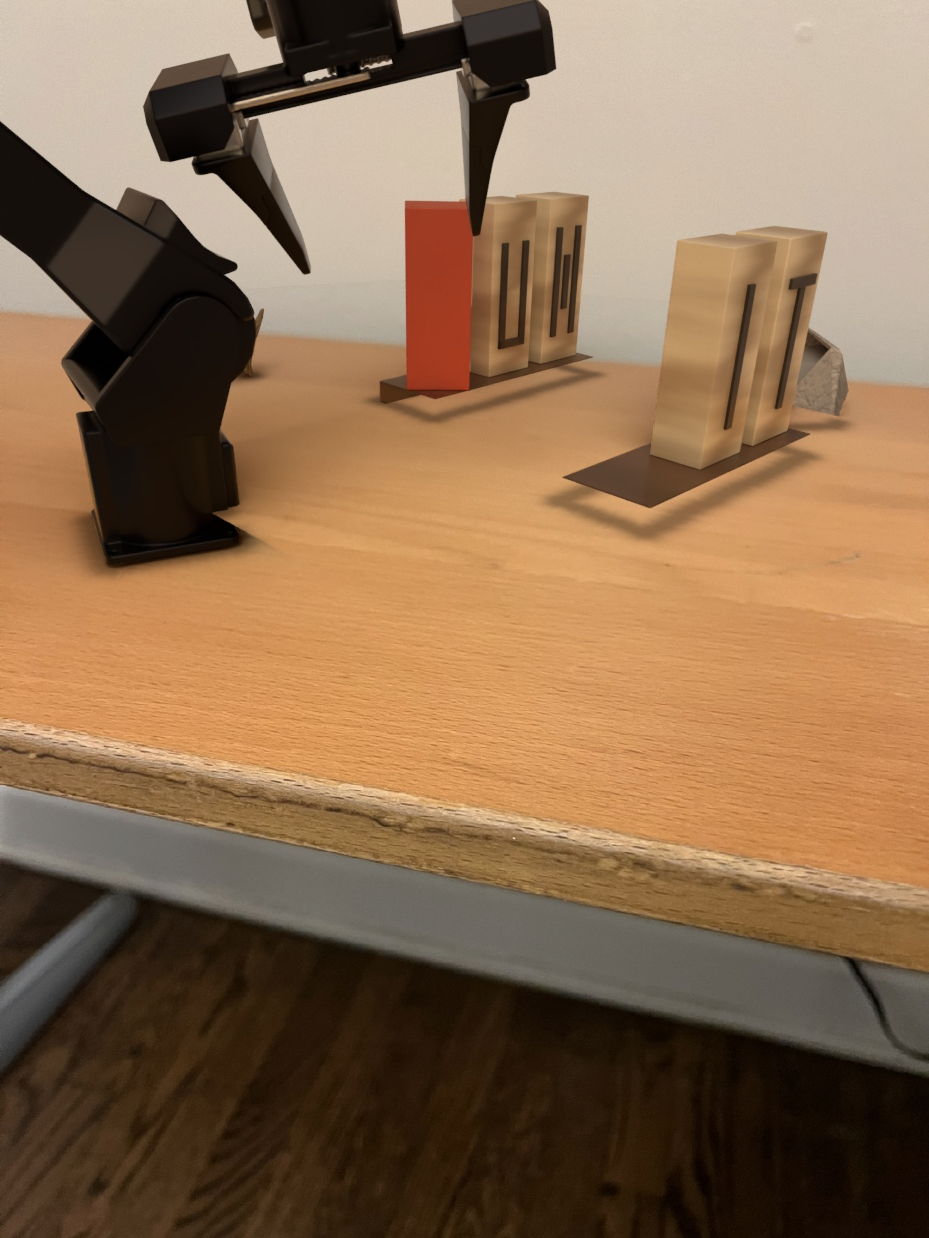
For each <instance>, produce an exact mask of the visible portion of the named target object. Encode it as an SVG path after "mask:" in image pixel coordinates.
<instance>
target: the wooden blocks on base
mask: <svg viewBox="0 0 929 1238" xmlns="http://www.w3.org/2000/svg"><path fill="white" fill-rule="evenodd" d="M589 199H590V195H589V194H588V195H587V194H579V193H569V192H562V191H561V192H560V191H545V192H532V193H522V194H515V196H507V195H495V196H487V199H486V204H485V210H484V216H483V221H482V227H481V232H480V235H479V236H475V237H474V242H473V282H472V306H471V337H470V362H471V364H470V379H469V390H407V374H404V375H403V374H402V375H400V376H395V377H391V378H387V379H382V380H379V401H380V402H383V403H386V404H391V403H395V402H399V401H403V400H406V399H410V398H414V397H418V396H423V397H427V398H429V399H433V400H438V399H442V398H446V397H450V396H453V395H458V394H460V393H465V392H469V391H472V390H477V389H480V388H483V387H487V386H491V385H495V384H499V383H503V382H505V381H510V380H514V379H517V378H521V377H525V376H529V375H532V374H536V373H540V372H543V371H544V372H545V371H548V370H551V369H556V368H559V367H563V366H567V365H570V364H573V363H578V362H581V361H585V360H588V359H593V358H594V356H592V355H588V354H584V353H581V352H577V348H578V347H577V345H578V337H579V336H578V333H579V323H580V311H581V298H582V285H583V274H584V273H583V272H584V262H585V261H584V260H585V248H586V236H587V223H588V213H589ZM459 202H466V200H465V198H460V199H459Z"/></svg>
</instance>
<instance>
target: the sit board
mask: <svg viewBox="0 0 929 1238" xmlns="http://www.w3.org/2000/svg"><path fill="white" fill-rule="evenodd" d="M827 240H828V232H827V231H824V230H816V229H815V230H814V229H806V228H798V227H789V226H781V225H770V226H764V227H756V228H750V229H744V230H737V231H735V234H728V233H715V234H710V235H702V236H696V237H690V238H684V239H683V238H682V239H677V241H676V247H675V255H674V263H673V271H672V278H671V286H670V293H669V301H668V309H667V317H666V323H665V326H666V327H665V333H664V340H663V349H662V356H661V364H660V371H659V378H658V379H659V380H658V388H657V395H656V403H655V411H654V419H653V425H652V435H651V441H650V443H647V444H645V445H644V444H643V445H642V446H639V447H636V448H634V449H631V450H629V451H626V452H624V453H621V454H618V455H615V456H613V457H611V458H608V459H605V460H603V461H600V462H598V463H597V462H596V463H594V464H592V465H590V466H587V467H584V468H582V469H579V470H576V471H574V472H571V473H569V474H566V475H563V476H562V479H565V480H568V481H571V482H573V483H576V484H579V485H582V486H585V487H587V488H591V489H594V490H596V491H599V492H602V493H605V494H608V495H611V496H613V497H617V498H619V499H622V500H625V501H627V502H630V503H633V504H636V505H639V506H642V507H644V508H647V509H652V508H654V507H656V506H660V505H661V504H664V503H666V502H668V501H669V500H672V499H673V498H676V497H679V496H681V495H683V494H685V493H687V492H689V491H691V490H693V489H696V488H698V487H700V486H702V485H704V484H706V483H708V482H710V481H711V482H712V481H714V480H715V479H717V478H720V477H722V476H723V475H726V474H727V473H730V472H733V471H734V470H737V469H739V468H741V467H743V466H746V465H747V464H749V463H753V461H756V460H758V459H761V458H762V457H765V456H767V455H769V454H771V453H773V452H776V451H777V450H779V449H782V448H784V447H787V446H789V445H791V444H792V443H795V442H797V441H799V440H801V439H804V438H805V437H808V436H810V435H811V433H809V432H805V431H801V430H798V429H793V428H790V427H789V425H790V419H791V415H792V409H793V406H792V405H793V400H794V395H795V391H796V386H797V381H798V376H799V371H800V366H801V361H802V356H803V351H804V347H805V342H806V337H807V332H808V327H809V328H810V322H811V317H812V312H813V307H814V302H815V298H816V297H815V296H816V292H817V289H818V288H817V287H818V283H819V277H820V273H821V268H822V263H823V259H824V253H825V249H826V243H827Z"/></svg>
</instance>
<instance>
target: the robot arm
mask: <svg viewBox="0 0 929 1238" xmlns="http://www.w3.org/2000/svg"><path fill="white" fill-rule="evenodd" d="M245 2H246V5H247V10H248V14H249V19H250V21H251V25H252V27H253V29H254V31H255V32H256V33H257V35H258V37H260V38H261V39H263V40H265V39H271V38H274V37H275V39H276V43H277V47H278V50H279V54H280V57H281V60H282V62H279V63H275V64H271V65H265V66H263V67H259V68H254V69H249V70H245V71H241V72H239V70H238V69H237V66H236V64H235V62H234V60H233V58H232V56H231V54H230V52H228V53H224V54H220V55H215V56H211V57H206V58H203V59H199V60H195V61H191V62H185V63H182V64H178V65H174V66H170V67H165V68H161V71H160V72H159V74H158V76H157V77H156V79H155V81H154V82H153V84H152V86H151V87H150V89H149V91H148V93H147V96H146V98H145V101H144V102H143V105H142V109H143V113H144V119H145V124H146V127H147V129H148V133H149V135H150V137H151V140H152V142H153V145H154V147H155V150H156V153H157V156H158V158H159V160H160V162H164V163H174V162H177V161H182V160H186V159H191V158H192V160H191V164H190V165H191V167H192V169H193V172H194V174H195V175H197V176H207V175H210V174H211V175H212V174H214V175H216V176H217V177H218V178H219V179H220V180H221V181H222V182H223V183H224V184H225V185H226V186H227V187H228V188H229V189H230V190H231V191H232V192H233V193H234V194H235V195H236V196H237V197H238V198H239V199H240V200H241V202H243V203H244V204H245V205H246V206H247V207H248V208H249V209H250V210H251V211H252V212H253V213H254V215H256V217H258V219H259V220H260V221H261V222H262V224H263V226H265V227H266V229H267V230H268V231H269V233H270V234H271V235H272V237H273V238H274V239H275V240H276V242H277V243H278V244H279V245H280V246H281V248H282V249H283V250H284V252H285V253H286V254H287V256H288V257H289V259H290V260H291V261H292V262H293V264H294V265H295V266H296V267H297V268H298V270H299V271H300V272H301V273H302V275H304V276H307V275H310V274H311V273H312V265H311V261H310V257H309V253H308V250H307V248H306V243H305V239H304V237H303V234H302V231H301V229H300V226H299V224H298V222H297V220H296V217H295V215H294V211H293V210H292V207H291V205H290V203H289V200H288V197H287V195H286V193H285V190H284V188H283V186H282V185H283V184H282V183H281V181H280V179H279V175H278V172H277V171H276V168H275V166H274V164H273V161H272V159H271V155H270V152H269V148H268V146H267V142H266V139H265V136H264V132H263V129H262V126H261V123H260V120H259V118H254V117H258V116H263V115H268V114H271V113H275V112H280V111H285V110H288V109H292V108H297V107H301V106H306V105H309V104H314V103H319V102H322V101H327V100H331V99H335V98H340V97H345V96H348V95H353V94H357V93H361V92H365V91H370V90H373V89H374V90H375V89H378V88H382V87H386V86H391V85H396V84H399V83H404V82H408V81H412V80H413V81H414V80H416V79H417V80H418V79H421V78H425V77H430V76H432V75H438V74H442V73H447V72H450V71H451V72H452V71H456V70H458V69H460V70H458V71H456V72H455V76H456V85H457V94H458V103H459V104H458V105H459V113H460V128H461V129H460V131H461V144H462V145H461V146H462V163H463V180H464V181H463V182H464V199H465V200H466V206H467V212H468V217H469V223H470V228H471V232H472V235H473V236H474V237H475V236H479V235H480V232H481V227H482V221H483V216H484V210H485V204H486V199H487V197H488V193H489V188H490V187H489V186H490V182H491V176H492V171H493V165H494V162H495V157H496V154H497V151H498V148H499V144H500V141H501V138H502V135H503V132H504V128H505V125H506V122H507V119H508V115H509V112H510V109H511V107H512V105H514V104H517V103H521V102H523V101H526V100H528V99H529V98H530V97H531V89H530V84H529V82H528V81H527V80H530V79H534V78H538V77H542V76H547V75H548V74H550V73H552V72H554V71H555V70H557V62H556V50H555V40H554V30H553V24H552V21H551V15H550V11H549V9H548V8H546V6H545V5H544V4H543V3H542V2H541V1H540V0H451V6H452V8H451V9H452V19H453V22H448V23H443V24H439V25H436V26H431V27H427V28H423V29H418V30H414V31H410V32H406V33H404V30H403V24H402V19H401V14H400V10H399V3H398V0H245ZM390 61H391V63H389V64H384V65H380V64H382V63H383V62H385V63H388V62H390ZM375 64H377V65H379V66H374V65H375ZM372 66H374V67H372ZM323 70H326V72H327V75H329V76H323V77H321V78H314V79H313V80H310V79H309V80H307V79H306V76H305V75H307V74H311V73H314V72H318V71H323ZM250 118H253V119H250ZM0 237H2V238H3V239H4V240H6V241H7V242H8V243H9V244H11V245H12V246H14V248H16V249H17V250H19V251H20V252H22V253H23V254H24V255H26V256H27V257H28V258H30V259H31V260H32V261H33V262H34V263H35V264H36V265H37V266H38V268H40V270H42V272H44V274H45V275H46V276H47V277H48V278H49V279H50V280H51V281H52V282H53V283H54V284H55V285H56V286H57V287H58V288H59V289H60V290H61V291H62V292H63V293H64V294H65V295H66V296H67V297H68V298H69V299H70V300H71V302H73V303H74V304H75V305H76V306H77V307H78V308H79V310H81V311H82V312H83V313H84V314H85V316H86V317H88V319H89V320H90V323H89V324H88V325H87V326H86V328H84V330H83V332H82V333H81V334H80V335H79V337H78V338H77V339H76V340H75V342H74V343H73V344H72V345H71V347H70V348H69V349H68V350H67V352H66V353H65V354H64V356H63V357H62V358H61V362H60V365H61V367H62V369H63V371H64V372H65V374H66V376H67V378H68V379H69V381H70V383H71V384H72V386H73V387H74V389H75V391H76V392H77V394H78V395H79V397H80V398H81V399H82V401H85V402H86V404H87V405H88V406H89V408H90V409H91V410H85V411H78V412H76V413H75V418H76V422H77V428H78V433H79V438H80V443H81V447H82V448H81V449H82V453H83V458H84V463H85V468H86V473H87V479H88V483H89V488H90V489H89V490H90V494H91V499H92V505H93V509H91V511H90V512H91V519H92V521H93V525H94V529H95V532H96V535H97V539H98V542H99V546H100V549H101V553H102V556H103V560H104V562H105V563H106V564H107V565H113V566H114V565H121V564H129V563H134V562H138V561H139V562H140V561H145V560H153V559H157V558H164V557H170V556H175V555H183V554H188V553H193V552H199V551H200V552H201V551H205V550H212V549H217V548H218V549H219V548H223V547H229V546H235V545H238V544H240V542H241V536H240V531H239V530H238V527H237V526H236V525H235V524H233V523H232V522H229V521H227V520H226V519H224V518H222V517H220V516H218V515H217V514H214V513H217V512H223V511H228V510H229V509H230V508H234V507H238V506H239V505H241V503H240V494H239V486H238V485H239V484H238V477H237V468H236V457H235V449H234V445H233V443H232V442H231V440H230V439H229V438H228V436H227V435H226V433H225V432H224V430H222V429H221V428H222V424H223V420H224V415H225V412H226V406H227V403H228V398H229V394H230V390H231V386H232V383H233V382H234V381H235V380H236V379H237V378H238V377H239V376H240V375H241V374H243V372H245V367H246V365H247V364H248V362H249V360H250V358H251V356H252V353H253V348H254V343H255V344H256V342H255V338H256V331H255V322H254V318H255V310H254V308H253V306H252V303H251V301H250V299H249V297H248V296H247V295H246V294H245V293H244V291H243V290H242V289H241V287H239V286H238V284H237V283H236V282H235V281H234V280H232V279H231V278H230V277H228V274H231V273H234V272H236V271H237V270H238V263H237V262H235V261H234V260H232V259H229V258H227V257H225V256H223V255H221V254H219V253H217V252H215V251H212V250H210V249H209V248H207V247H205V246H204V245H203V243H201V241H199V239H197V237H196V236H195V235H194V234H193V233H192V231H190V229H189V228H188V227H187V226H186V225H185V223H184V222H183V221H182V220H181V218H180V217H179V216H178V215H177V214H176V213H175V212H174V210H172V208H171V207H170V206H169V205H168V204H167V203H166V202H165V201H164V200H163V199H161V198H158V197H155V196H153V195H151V194H148V193H146V192H143V191H140V190H137V189H135V188H132V187H129V186H128V187H126V188H125V189H124V192H123V194H122V196H121V198H120V201H119V203H118V205H117V207H116V209H115V208H113V207H112V206H110V205H108V204H107V203H106V202H104V201H102V200H100V199H98V198H97V197H95V196H94V195H91V194H90V193H89V192H86V191H85V190H84V189H83V188H81V187H80V186H78V184H77V183H75V182H74V181H73V180H72V179H71V178H69V177H68V176H67V175H66V174H65V173H64V172H62V171H61V170H60V169H58V168H57V167H56V166H55V165H54V164H53V163H51V162H50V161H49V160H48V159H46V158H45V157H44V156H43V155H42V154H40V152H38V151H37V150H36V149H34V148H33V147H32V146H31V145H30V144H29V143H27V142H26V141H25V140H24V139H22V138H21V137H20V136H19V135H17V133H16V132H14V131H13V130H12V129H11V128H9V127H8V126H7V125H6V124H4V122H2V121H1V120H0ZM256 339H257V338H256ZM254 349H255V348H254ZM253 354H254V353H253Z"/></svg>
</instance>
